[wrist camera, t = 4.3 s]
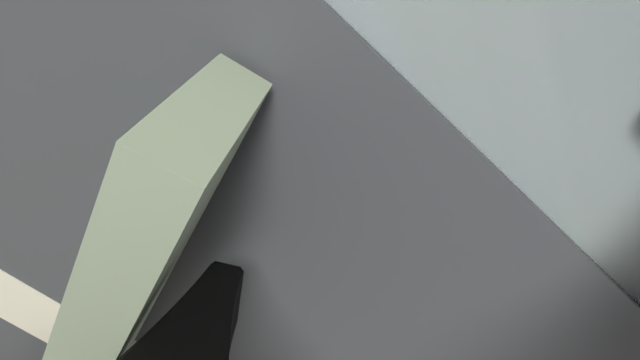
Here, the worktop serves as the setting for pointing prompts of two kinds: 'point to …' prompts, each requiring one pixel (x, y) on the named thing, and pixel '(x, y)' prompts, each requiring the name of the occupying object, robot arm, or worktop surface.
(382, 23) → the worktop surface
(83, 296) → the sage fence panel
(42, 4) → the card
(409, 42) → the worktop surface
